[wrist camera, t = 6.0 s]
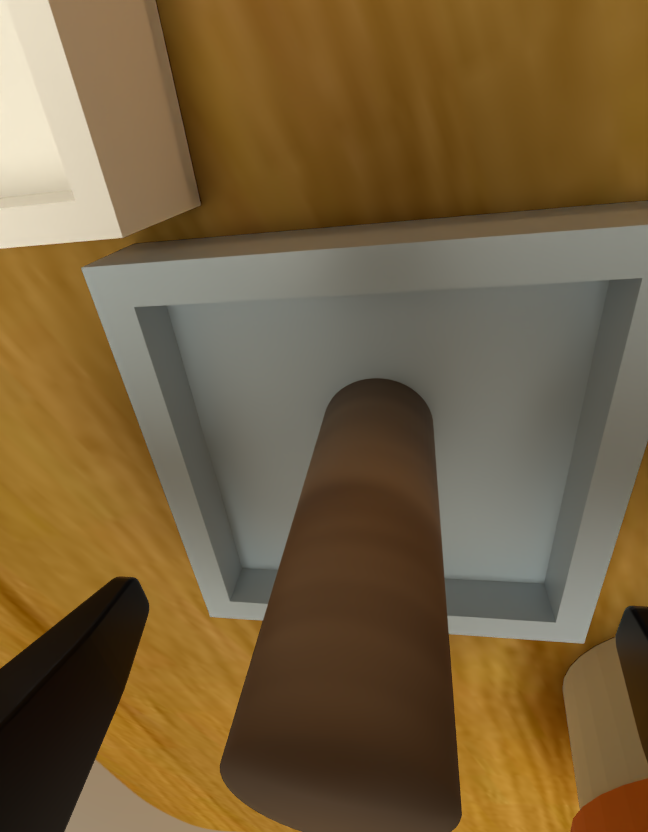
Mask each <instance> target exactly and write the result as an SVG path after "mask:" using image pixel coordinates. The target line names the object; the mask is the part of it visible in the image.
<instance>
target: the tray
mask: <svg viewBox="0 0 648 832" xmlns="http://www.w3.org/2000/svg"><path fill="white" fill-rule="evenodd" d="M81 269H82V272H83V274H84V277H85V280H86V282H87V285H88V288H89V290H90V293H91V296H92V299H93V301H94V304H95V307H96V309H97V312H98V315H99V317H100V320H101V323H102V326H103V328H104V331H105V334H106V336H107V339H108V342H109V344H110V347H111V350H112V353H113V355H114V358H115V361H116V363H117V366H118V369H119V371H120V374H121V377H122V380H123V382H124V385H125V388H126V390H127V393H128V396H129V398H130V401H131V404H132V406H133V409H134V412H135V415H136V417H137V420H138V423H139V425H140V428H141V431H142V433H143V436H144V439H145V442H146V444H147V447H148V450H149V452H150V455H151V458H152V460H153V463H154V466H155V469H156V471H157V474H158V477H159V479H160V482H161V485H162V487H163V490H164V493H165V496H166V498H167V501H168V504H169V506H170V509H171V512H172V514H173V517H174V520H175V523H176V525H177V528H178V531H179V533H180V536H181V539H182V541H183V544H184V547H185V550H186V552H187V555H188V558H189V560H190V563H191V566H192V568H193V571H194V574H195V576H196V579H197V582H198V585H199V587H200V590H201V593H202V595H203V598H204V601H205V603H206V606H207V609H208V612H209V614H210V617H220V618H234V619H248V620H262V621H263V619H264V615H265V612H266V609H267V605H268V602H269V599H270V595H271V592H272V589H273V585H274V582H275V579H276V575H277V572H278V569H279V565H280V562H281V558H282V555H283V552H284V548H285V545H286V542H287V538H288V535H289V532H290V528H291V525H292V522H293V518H294V515H295V512H296V508H297V505H298V502H299V498H300V495H301V492H302V488H303V485H304V481H305V478H306V475H307V471H308V468H309V465H310V461H311V458H312V455H313V451H314V448H315V445H316V441H317V438H318V435H319V431H320V428H321V425H322V421H323V418H324V414H325V411H326V408H327V406H328V404H329V402H330V401H331V399H332V398H333V397H334V396H335V394H336V393H337V392H339V391H340V390H341V389H342V388H344V387H345V386H347V385H349V384H351V383H353V382H356V381H359V380H364V379H371V378H383V379H389V380H393V381H397V382H400V383H402V384H404V385H406V386H408V387H410V388H411V389H413V390H414V391H415V392H417V393H418V394H419V395H420V396H421V397H422V398H423V399H424V401H425V402H426V404H427V405H428V407H429V409H430V411H431V414H432V418H433V427H434V441H435V454H436V468H437V482H438V495H439V509H440V523H441V536H442V550H443V564H444V577H445V591H446V605H447V618H448V632H449V634H457V635H471V636H485V637H499V638H513V639H527V640H541V641H555V642H568V643H582V644H584V642H585V639H586V635H587V632H588V629H589V626H590V623H591V620H592V616H593V613H594V610H595V607H596V604H597V601H598V597H599V594H600V591H601V588H602V585H603V581H604V578H605V575H606V572H607V569H608V566H609V562H610V559H611V556H612V553H613V550H614V546H615V543H616V540H617V537H618V534H619V531H620V527H621V524H622V521H623V518H624V515H625V511H626V508H627V505H628V502H629V499H630V496H631V492H632V489H633V486H634V483H635V480H636V476H637V473H638V470H639V467H640V464H641V461H642V457H643V454H644V451H645V448H646V445H647V442H648V200H647V201H635V202H623V203H612V204H600V205H588V206H576V207H564V208H552V209H540V210H529V211H517V212H505V213H493V214H481V215H469V216H457V217H446V218H434V219H422V220H410V221H398V222H386V223H374V224H362V225H351V226H339V227H327V228H315V229H303V230H291V231H279V232H268V233H256V234H244V235H232V236H220V237H208V238H196V239H185V240H173V241H161V242H149V243H137V244H132V245H130V246H128V247H126V248H123V249H121V250H119V251H117V252H115V253H112V254H110V255H108V256H106V257H104V258H101V259H99V260H97V261H95V262H93V263H90V264H88V265H86V266H84V267H82V268H81Z"/></svg>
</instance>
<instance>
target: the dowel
mask: <svg viewBox="0 0 648 832" xmlns="http://www.w3.org/2000/svg"><path fill="white" fill-rule="evenodd" d="M220 773H221V776H222V779H223V781H224V782H225V784H226V786H227V787H228V788H229V789H230V791H231V792H232V793H233V794H234V795H235V796H236V797H237V798H238V799H240V800H241V801H242V802H243V803H245V804H246V805H247V806H249V807H251V808H252V809H254V810H255V811H257V812H259V813H260V814H262V815H264V816H266V817H268V818H270V819H272V820H274V821H276V822H278V823H281V824H283V825H286V826H288V827H291V828H293V829H296V830H299V831H302V832H451V831H452V830H454V829H455V828H456V827H457V825H458V824H459V822H460V819H461V816H462V811H461V796H460V782H459V769H458V755H457V741H456V728H455V714H454V700H453V687H452V673H451V659H450V646H449V632H448V618H447V605H446V591H445V577H444V564H443V550H442V536H441V523H440V509H439V495H438V482H437V468H436V454H435V441H434V427H433V418H432V414H431V411H430V409H429V407H428V405H427V404H426V402H425V401H424V399H423V398H422V397H421V396H420V395H419V394H418V393H417V392H415V391H414V390H413V389H411V388H410V387H408V386H406V385H404V384H402V383H400V382H397V381H393V380H389V379H383V378H371V379H364V380H359V381H356V382H353V383H351V384H349V385H347V386H345V387H344V388H342V389H341V390H340V391H339V392H337V393H336V394H335V396H334V397H333V398H332V399H331V401H330V402H329V404H328V406H327V408H326V411H325V414H324V418H323V421H322V425H321V428H320V431H319V435H318V438H317V441H316V445H315V448H314V451H313V455H312V458H311V461H310V465H309V468H308V471H307V475H306V478H305V481H304V485H303V488H302V492H301V495H300V498H299V502H298V505H297V508H296V512H295V515H294V518H293V522H292V525H291V528H290V532H289V535H288V538H287V542H286V545H285V548H284V552H283V555H282V558H281V562H280V565H279V569H278V572H277V575H276V579H275V582H274V585H273V589H272V592H271V595H270V599H269V602H268V605H267V609H266V612H265V615H264V619H263V622H262V625H261V629H260V632H259V636H258V639H257V642H256V646H255V649H254V652H253V656H252V659H251V662H250V666H249V669H248V672H247V676H246V679H245V682H244V686H243V689H242V692H241V696H240V699H239V702H238V706H237V709H236V713H235V716H234V719H233V723H232V726H231V729H230V733H229V736H228V739H227V743H226V746H225V749H224V753H223V756H222V759H221V763H220Z"/></svg>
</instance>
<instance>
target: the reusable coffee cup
mask: <svg viewBox="0 0 648 832" xmlns="http://www.w3.org/2000/svg"><path fill="white" fill-rule="evenodd" d="M563 695H564V702H565V709H566V716H567V723H568V730H569V737H570V744H571V751H572V758H573V765H574V772H575V779H576V786H577V793H578V800H579V807H580V811H579V812H578V813H577V814H576V816H575V817H574V818H573V822H572V827H571V832H648V763H647V760H646V757H645V754H644V751H643V748H642V745H641V742H640V738H639V735H638V731H637V727H636V723H635V719H634V715H633V711H632V708H631V704H630V700H629V696H628V692H627V688H626V684H625V680H624V676H623V672H622V668H621V664H620V661H619V657H618V653H617V648H616V637H615V638H612V639H610V640H608V641H606V642H603V643H601V644H599V645H597V646H595V647H593V648H592V649H590V650H589V651H588V652H586V653H585V654H583V655H582V656H580V657H579V658H578V659H577V660H576V661H575V662H574V663H573V664H572V666H571V667H570V668H569V670H568V672H567V674H566V675H565V677H564V682H563Z"/></svg>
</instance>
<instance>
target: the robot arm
mask: <svg viewBox="0 0 648 832" xmlns="http://www.w3.org/2000/svg"><path fill="white" fill-rule="evenodd" d="M148 613H149V602H148V600H147V598H146V595H145V593H144V591H143V589H142V587H141V585H140V583H139V581H138V580H137V579H136V578H134V577H116V578H114V579H112V580H111V581H110V582H108V583H107V584H106V585H105V586H103V587H102V588H101V589H100V590H98V591H97V592H96V593H95V594H93V595H92V596H91V597H90V598H88V599H87V600H86V601H85V602H83V603H82V604H81V605H80V606H78V607H77V608H76V609H75V610H73V611H72V612H71V613H69V614H68V615H67V616H66V617H64V618H63V619H62V620H61V621H59V622H58V623H57V624H56V625H54V626H53V627H52V628H51V629H49V630H48V631H47V632H46V633H44V634H43V635H42V636H41V637H39V638H38V639H37V640H36V641H34V642H33V643H32V644H31V645H29V646H28V647H27V648H26V649H24V650H23V651H22V652H21V653H19V654H18V655H17V656H16V657H14V658H13V659H12V660H11V661H9V662H8V663H7V664H6V665H4V666H3V667H2V668H1V669H0V832H64V831H65V829H66V826H67V824H68V822H69V820H70V817H71V815H72V812H73V810H74V808H75V805H76V803H77V801H78V798H79V796H80V794H81V791H82V789H83V787H84V784H85V782H86V779H87V777H88V775H89V772H90V770H91V768H92V765H93V763H94V761H95V758H96V756H97V753H98V751H99V749H100V746H101V744H102V742H103V739H104V737H105V735H106V732H107V730H108V727H109V725H110V723H111V720H112V718H113V716H114V713H115V711H116V709H117V706H118V704H119V701H120V699H121V696H122V694H123V691H124V689H125V686H126V683H127V680H128V677H129V674H130V671H131V667H132V664H133V661H134V658H135V655H136V652H137V649H138V645H139V642H140V639H141V636H142V633H143V630H144V626H145V623H146V620H147V617H148ZM616 648H617V653H618V657H619V661H620V664H621V668H622V672H623V676H624V680H625V684H626V688H627V692H628V696H629V700H630V704H631V708H632V711H633V715H634V719H635V723H636V727H637V731H638V735H639V738H640V742H641V745H642V748H643V751H644V754H645V757H646V760H647V763H648V607H642V606H629V607H627V608H626V609H625V611H624V614H623V616H622V619H621V622H620V624H619V627H618V630H617V633H616Z"/></svg>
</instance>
